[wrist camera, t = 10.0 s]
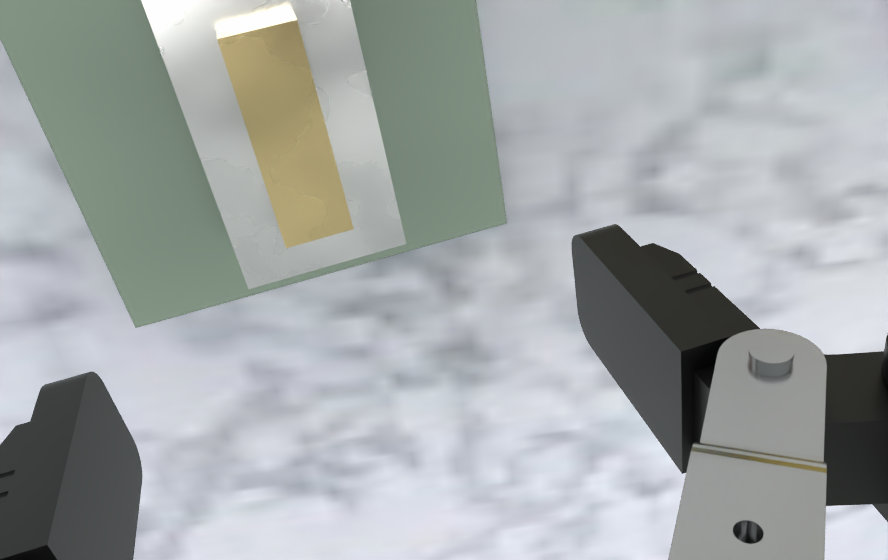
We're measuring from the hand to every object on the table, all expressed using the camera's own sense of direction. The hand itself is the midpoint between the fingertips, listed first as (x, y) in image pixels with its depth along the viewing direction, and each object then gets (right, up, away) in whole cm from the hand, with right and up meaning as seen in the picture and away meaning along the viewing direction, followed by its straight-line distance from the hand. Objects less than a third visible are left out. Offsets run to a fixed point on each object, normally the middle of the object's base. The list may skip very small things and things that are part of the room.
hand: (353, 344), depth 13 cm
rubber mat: (-4, +7, +12) cm, 15 cm away
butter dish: (-4, +7, +12) cm, 14 cm away
